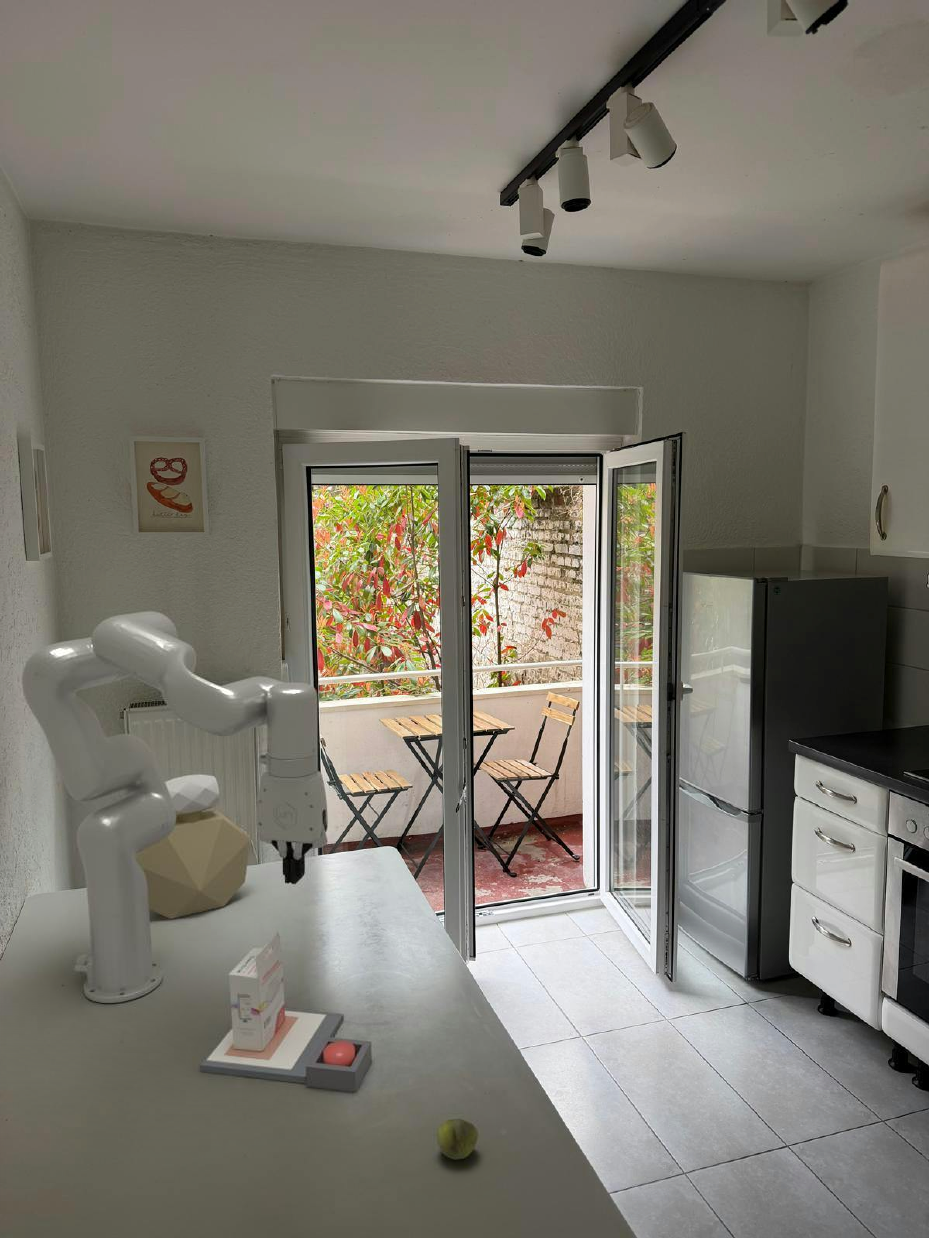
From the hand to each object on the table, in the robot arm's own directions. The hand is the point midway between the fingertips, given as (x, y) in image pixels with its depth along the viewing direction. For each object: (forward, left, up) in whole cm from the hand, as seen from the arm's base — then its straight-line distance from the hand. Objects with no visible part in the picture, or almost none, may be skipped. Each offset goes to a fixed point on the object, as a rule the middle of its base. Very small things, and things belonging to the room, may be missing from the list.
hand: (293, 879), depth 134 cm
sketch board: (-2, -6, -23) cm, 24 cm away
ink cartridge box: (-4, -6, -22) cm, 23 cm away
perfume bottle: (-38, +36, -24) cm, 57 cm away
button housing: (+10, -11, -23) cm, 28 cm away
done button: (+11, -11, -23) cm, 27 cm away
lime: (+30, -24, -24) cm, 45 cm away
